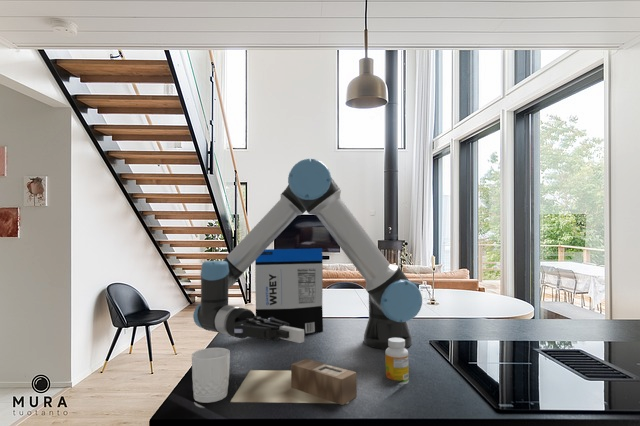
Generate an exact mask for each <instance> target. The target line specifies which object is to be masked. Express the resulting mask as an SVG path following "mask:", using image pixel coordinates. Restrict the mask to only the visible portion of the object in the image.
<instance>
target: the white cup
mask: <svg viewBox="0 0 640 426" xmlns="http://www.w3.org/2000/svg"><path fill="white" fill-rule="evenodd" d="M230 363H231V351H230V349H228V348H225V347H206V348H202V349H199V350H196V351H194V352H192V354H191V372H192V373H191V378H192V391H193V399H194V402H193V404H194V405H195V406H196V407H197V408H200V409H206V407H205V406H203V405H201V404H198V403H207V404H208V403H215V402H218V401H221V400H224V399H225V398H226V397H227V396H228V392H229V390H228V389H229V380H230V366H231V364H230ZM195 401H196V402H195ZM197 402H198V403H197Z"/></svg>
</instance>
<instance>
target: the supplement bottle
mask: <svg viewBox="0 0 640 426" xmlns="http://www.w3.org/2000/svg"><path fill="white" fill-rule="evenodd" d="M388 346H389V347H388V348H387V349H385V350H384V351H385V352H384V353H385V354H384V355H385V377H386V378H388V379H389V380H391V381H400V382H399V383H397V384H396V386H403V385H407V384H408V383H409V382H410V377H409V376H410V373H409V371H410V370H409V369H410V368H409V367H410V366H409V351H408V348H404V347H405V340H404V339H402V338H389V339H388Z"/></svg>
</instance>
